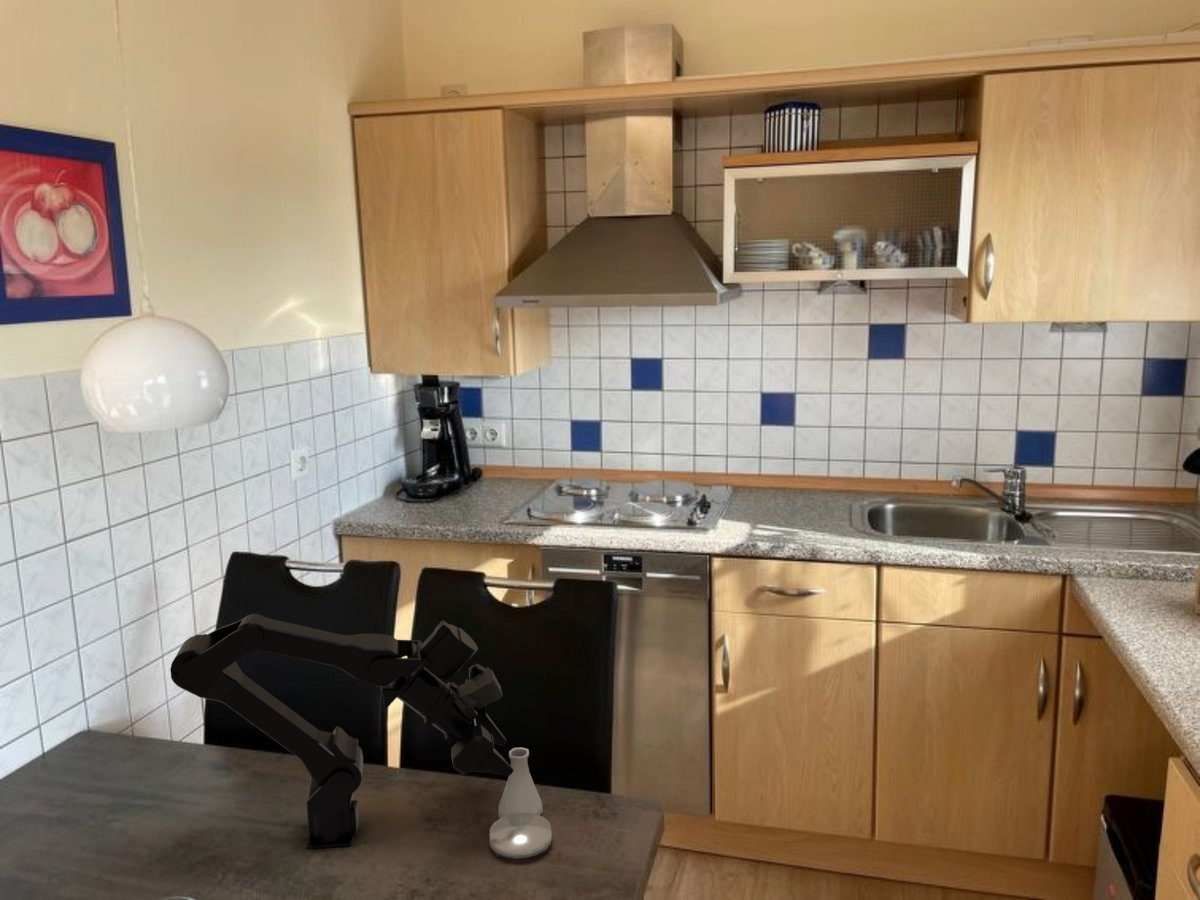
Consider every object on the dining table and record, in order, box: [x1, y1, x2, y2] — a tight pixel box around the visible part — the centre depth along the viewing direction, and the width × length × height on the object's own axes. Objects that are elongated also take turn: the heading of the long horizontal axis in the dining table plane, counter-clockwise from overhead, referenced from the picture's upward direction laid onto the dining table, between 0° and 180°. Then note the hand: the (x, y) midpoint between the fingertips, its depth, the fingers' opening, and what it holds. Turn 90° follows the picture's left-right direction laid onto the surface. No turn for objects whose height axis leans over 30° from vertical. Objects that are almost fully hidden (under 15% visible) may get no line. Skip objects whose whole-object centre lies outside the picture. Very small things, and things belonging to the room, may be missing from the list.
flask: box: [497, 747, 544, 819], centre depth 142 cm, size 7×7×10 cm
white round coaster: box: [489, 813, 553, 859], centre depth 134 cm, size 9×9×2 cm
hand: (508, 757), depth 141 cm, fingers open, 9 cm apart
